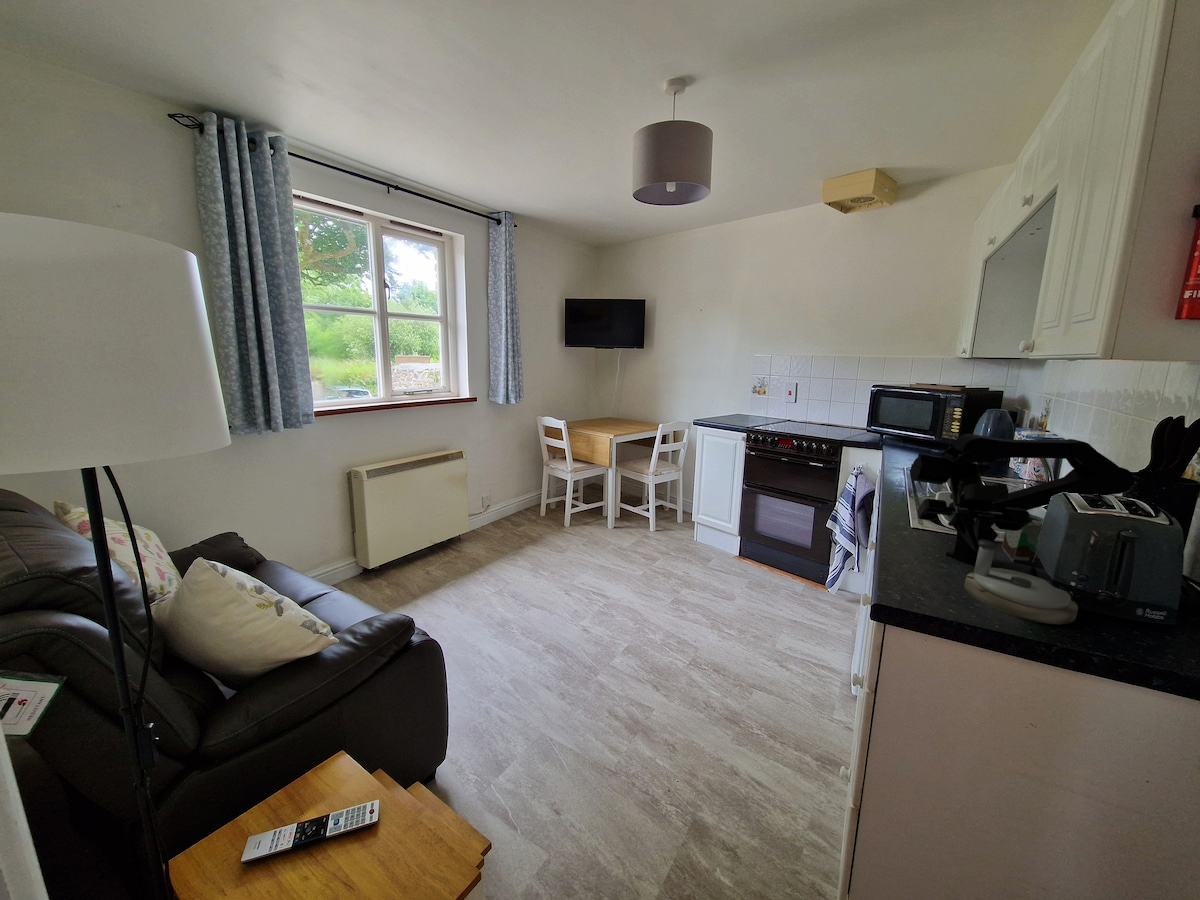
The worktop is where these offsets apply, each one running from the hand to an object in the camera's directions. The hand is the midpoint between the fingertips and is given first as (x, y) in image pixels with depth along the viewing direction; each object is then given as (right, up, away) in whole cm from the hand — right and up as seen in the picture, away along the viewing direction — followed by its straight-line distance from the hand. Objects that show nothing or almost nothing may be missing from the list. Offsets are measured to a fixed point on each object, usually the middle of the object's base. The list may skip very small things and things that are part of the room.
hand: (976, 550), depth 96 cm
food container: (+23, -5, +14) cm, 27 cm away
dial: (+3, -6, -6) cm, 10 cm away
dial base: (+3, -9, -6) cm, 11 cm away
